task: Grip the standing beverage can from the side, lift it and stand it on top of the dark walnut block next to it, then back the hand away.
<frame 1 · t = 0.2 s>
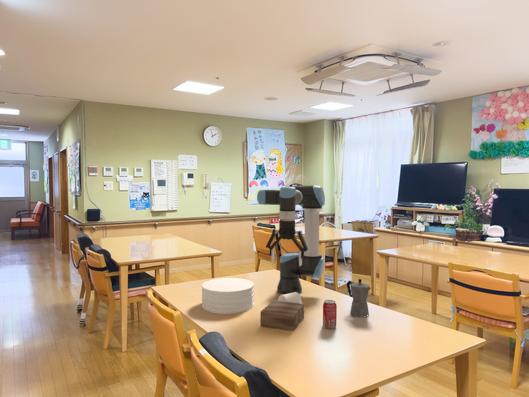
hand: (286, 264, 183), 28 cm above the table, tool pointing down, fingers open, 13 cm apart
coffeepot: (357, 313, 195), on the table
beverage can: (329, 327, 177), on the table
mug: (292, 310, 201), on the table
walnut block: (282, 322, 183), on the table
plate stack: (228, 305, 209), on the table
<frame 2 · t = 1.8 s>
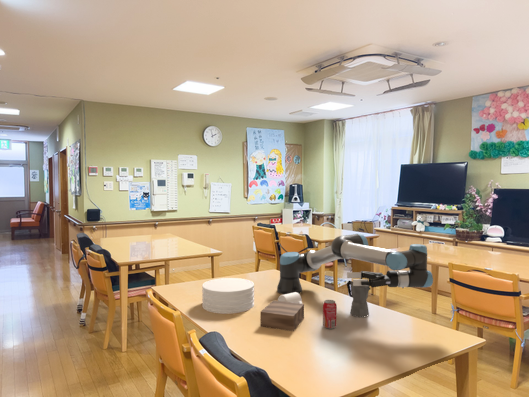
hand: (349, 278, 176), 23 cm above the table, tool horizontal, fingers open, 13 cm apart
nothing on the table moved.
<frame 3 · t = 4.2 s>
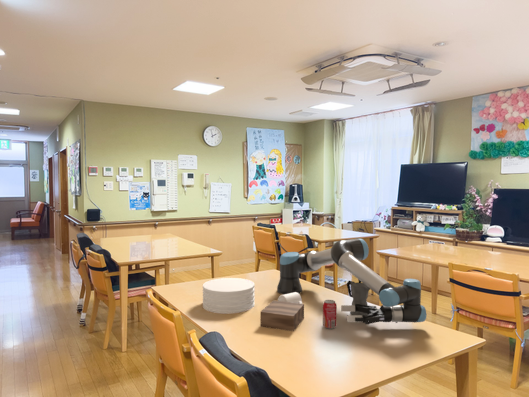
hand: (344, 313, 176), 7 cm above the table, tool horizontal, fingers open, 13 cm apart
nothing on the table moved.
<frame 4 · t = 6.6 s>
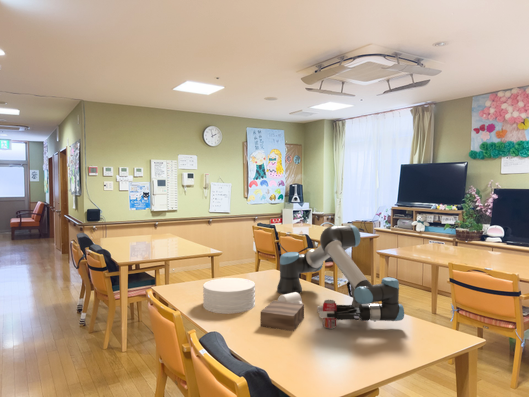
hand: (318, 311, 177), 7 cm above the table, tool horizontal, fingers closed on beverage can, 6 cm apart
beverage can: (329, 327, 177), on the table, touching gripper
everything else where it was.
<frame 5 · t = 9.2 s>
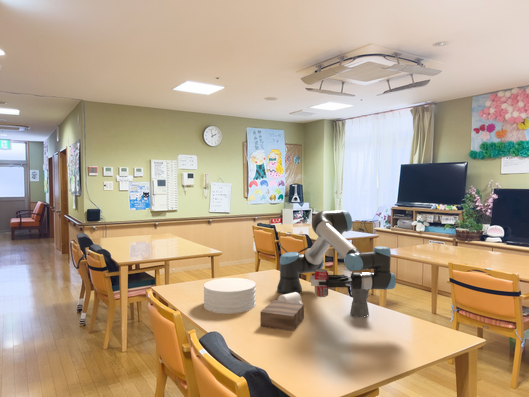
hand: (310, 280, 176), 22 cm above the table, tool horizontal, fingers closed on beverage can, 6 cm apart
beverage can: (321, 296, 176), point 14 cm above the table, touching gripper
everything else where it was.
when the fingers open (15 cm above the table, at t = 12.1 s): beverage can drops 1 cm, resting on walnut block.
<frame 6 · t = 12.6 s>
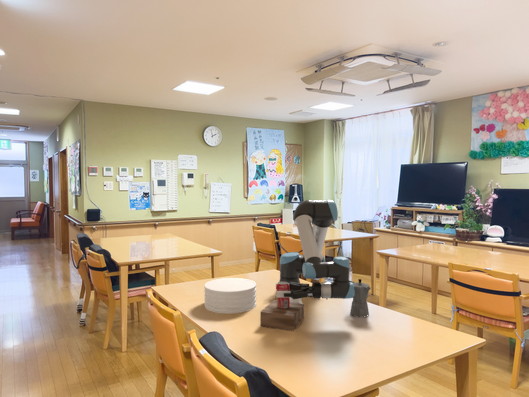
hand: (275, 290, 182), 15 cm above the table, tool horizontal, fingers open, 13 cm apart
beverage can: (283, 308, 183), point 7 cm above the table, touching walnut block
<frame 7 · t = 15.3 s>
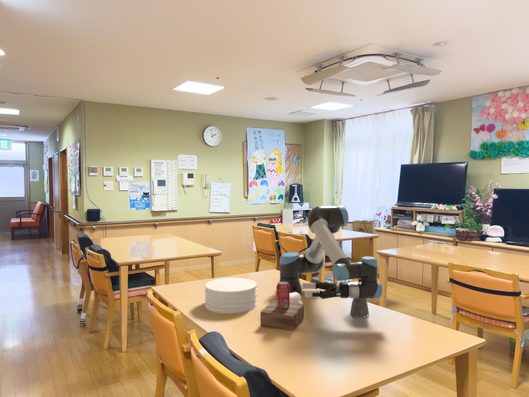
hand: (303, 289, 182), 16 cm above the table, tool horizontal, fingers open, 13 cm apart
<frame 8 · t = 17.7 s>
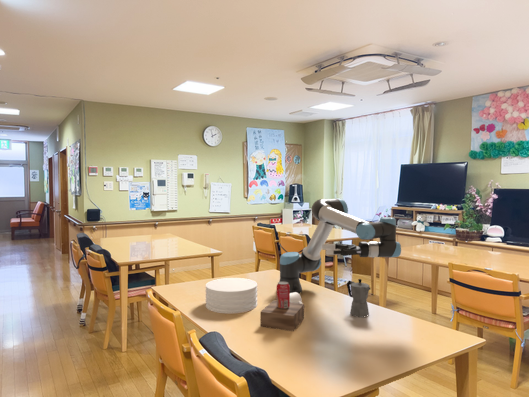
hand: (324, 249, 188), 34 cm above the table, tool horizontal, fingers open, 13 cm apart
at the end: beverage can inside the target area on the walnut block (0.2 cm from its centre), point 6.8 cm above the walnut block's base; beverage can tilted 0°; the gripper is holding nothing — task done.
